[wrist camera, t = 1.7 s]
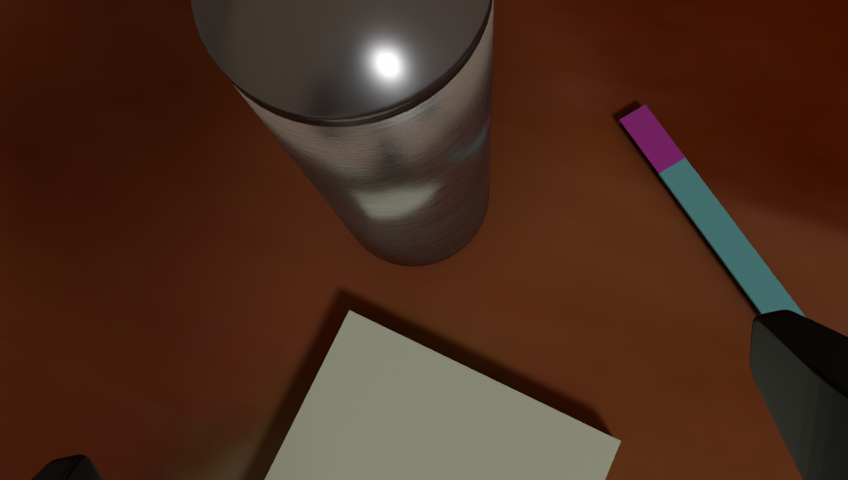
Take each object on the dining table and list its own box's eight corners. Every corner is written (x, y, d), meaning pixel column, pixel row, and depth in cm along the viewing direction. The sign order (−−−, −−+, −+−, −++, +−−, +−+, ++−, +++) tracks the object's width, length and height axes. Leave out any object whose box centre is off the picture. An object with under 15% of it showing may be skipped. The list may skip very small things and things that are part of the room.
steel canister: (450, 291, 22) (409, 164, 10) (316, 229, 23) (135, 45, 11) (513, 158, 23) (544, -104, 11) (382, 103, 24) (279, -195, 12)
